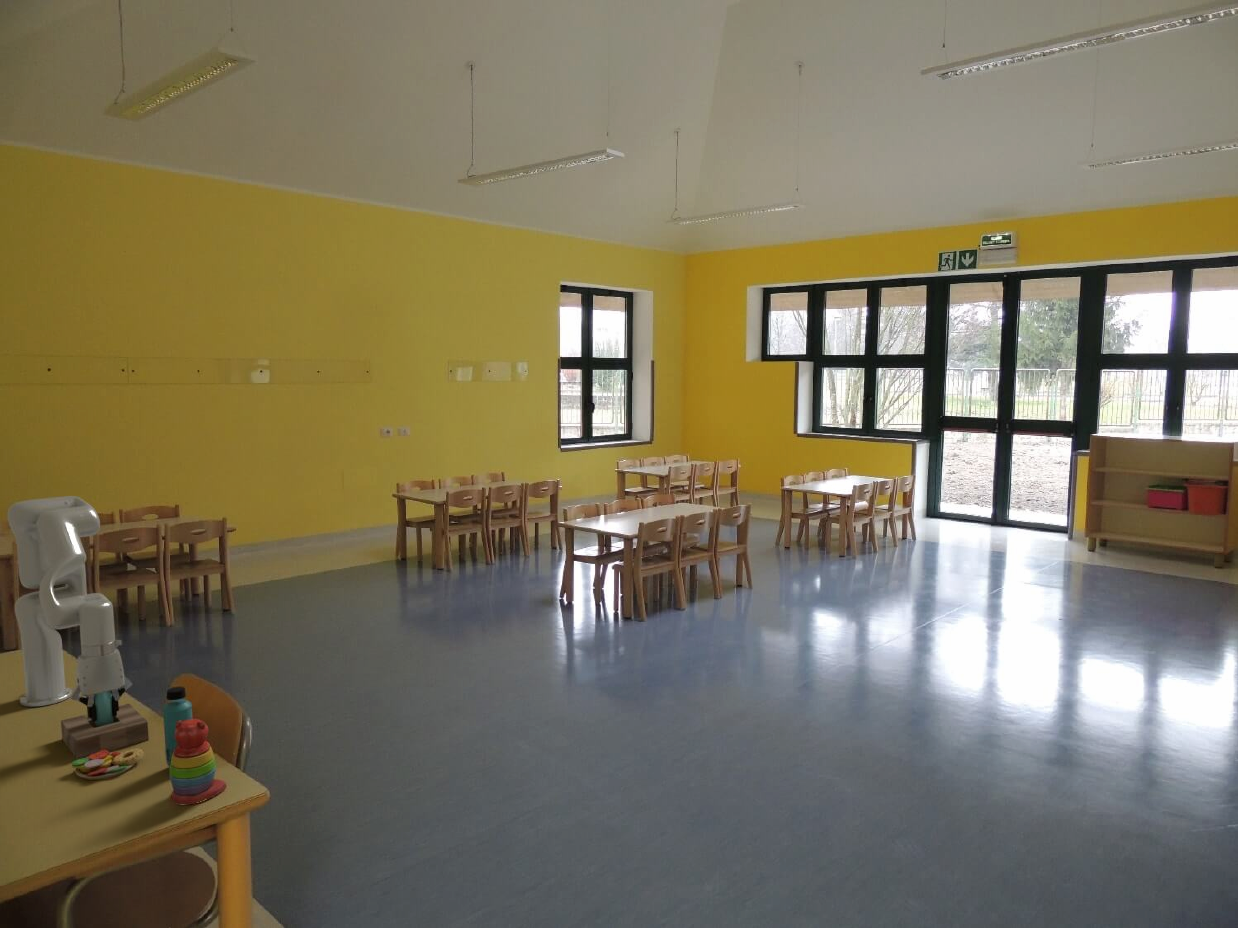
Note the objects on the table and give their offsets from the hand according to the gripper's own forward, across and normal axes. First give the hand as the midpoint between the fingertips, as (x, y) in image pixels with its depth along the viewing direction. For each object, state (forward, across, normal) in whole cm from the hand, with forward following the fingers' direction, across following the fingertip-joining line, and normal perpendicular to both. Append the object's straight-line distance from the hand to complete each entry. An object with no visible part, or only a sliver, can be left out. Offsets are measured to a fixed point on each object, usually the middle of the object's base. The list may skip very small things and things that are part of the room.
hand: (103, 716), depth 225 cm
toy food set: (+7, +4, +18) cm, 20 cm away
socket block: (+6, 0, 0) cm, 6 cm away
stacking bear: (+6, -7, +46) cm, 47 cm away
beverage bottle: (+6, -9, +30) cm, 32 cm away
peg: (+3, 0, 0) cm, 3 cm away
